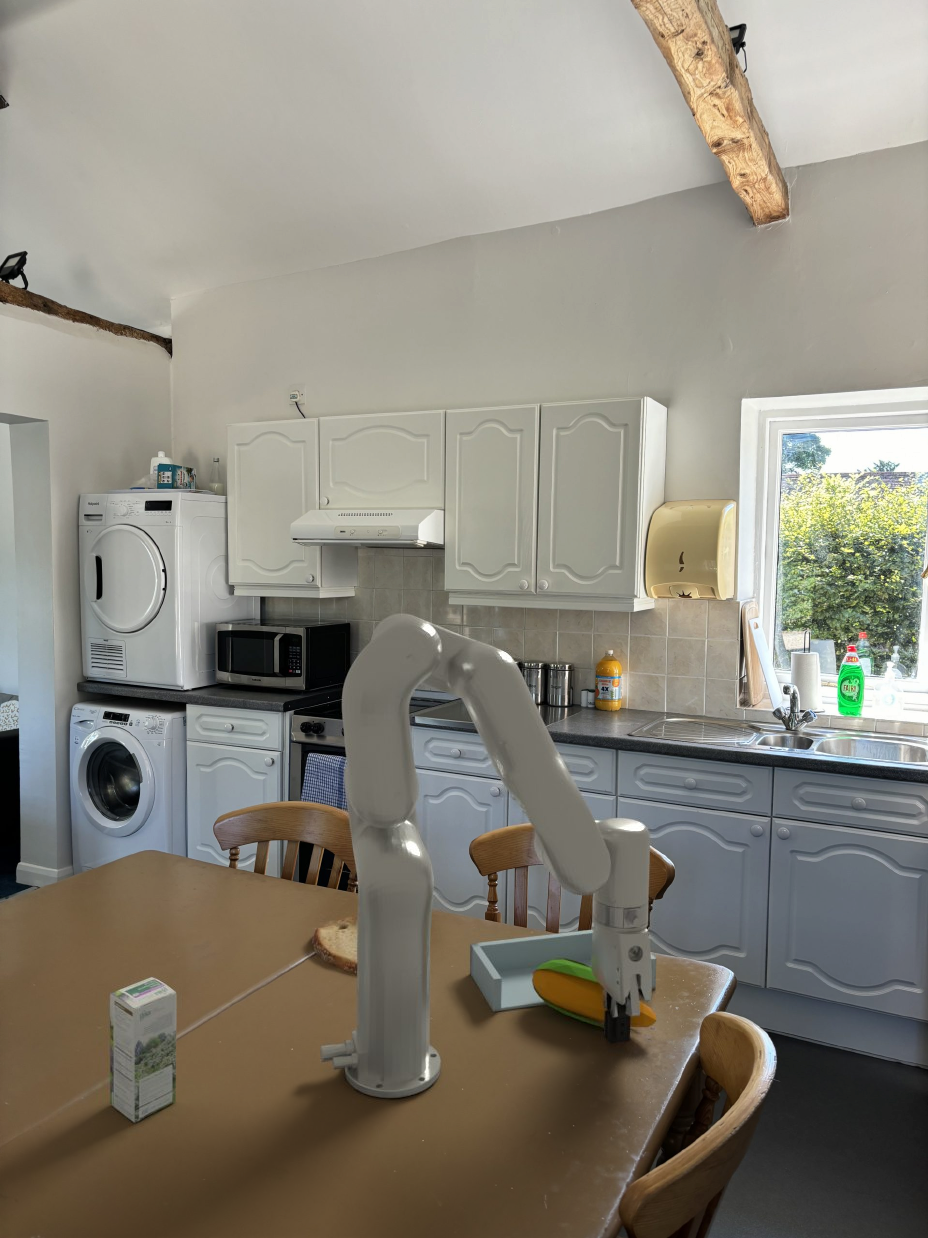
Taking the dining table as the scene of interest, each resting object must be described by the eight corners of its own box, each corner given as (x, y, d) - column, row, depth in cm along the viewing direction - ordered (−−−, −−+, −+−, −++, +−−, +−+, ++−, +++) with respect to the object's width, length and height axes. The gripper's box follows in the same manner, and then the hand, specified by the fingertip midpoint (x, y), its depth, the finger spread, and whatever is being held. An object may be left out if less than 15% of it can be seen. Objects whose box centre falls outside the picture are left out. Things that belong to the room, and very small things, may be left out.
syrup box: (152, 1084, 110) (150, 974, 109) (178, 1103, 107) (177, 989, 106) (109, 1105, 106) (107, 991, 105) (135, 1126, 102) (133, 1007, 101)
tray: (493, 1011, 129) (494, 979, 129) (469, 973, 141) (470, 944, 141) (655, 989, 137) (656, 958, 136) (620, 954, 149) (620, 926, 148)
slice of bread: (405, 979, 140) (405, 957, 140) (295, 975, 141) (295, 952, 140) (417, 932, 158) (417, 912, 157) (320, 928, 159) (320, 908, 158)
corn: (547, 939, 135) (668, 980, 124) (547, 984, 136) (667, 1029, 125) (522, 961, 129) (647, 1006, 118) (522, 1008, 130) (646, 1057, 119)
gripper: (672, 930, 112) (668, 1066, 114) (620, 888, 127) (617, 1009, 128) (619, 936, 110) (615, 1075, 112) (573, 893, 125) (570, 1016, 126)
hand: (616, 1039), depth 120 cm, fingers closed
